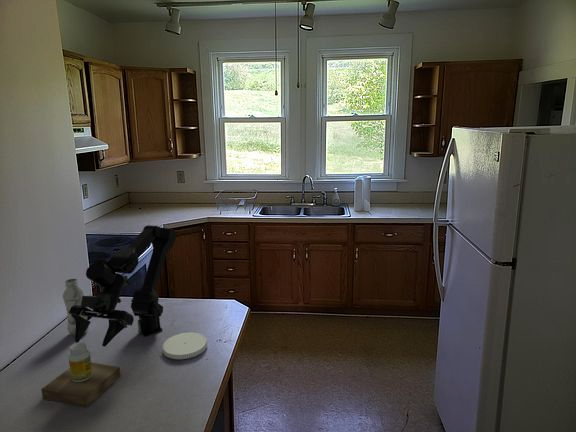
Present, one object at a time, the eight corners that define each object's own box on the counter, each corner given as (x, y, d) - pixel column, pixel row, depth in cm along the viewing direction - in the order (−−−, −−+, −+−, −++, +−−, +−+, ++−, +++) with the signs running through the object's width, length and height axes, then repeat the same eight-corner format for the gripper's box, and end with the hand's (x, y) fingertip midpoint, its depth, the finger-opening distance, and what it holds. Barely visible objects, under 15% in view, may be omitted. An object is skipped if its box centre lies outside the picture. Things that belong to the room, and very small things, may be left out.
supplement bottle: (75, 372, 118) (70, 342, 116) (95, 370, 119) (91, 340, 116) (68, 384, 113) (64, 352, 110) (89, 381, 113) (85, 350, 111)
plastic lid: (155, 351, 134) (154, 344, 134) (191, 334, 144) (191, 328, 144) (178, 367, 125) (177, 360, 124) (215, 349, 135) (215, 342, 134)
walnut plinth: (80, 369, 124) (79, 360, 124) (120, 375, 121) (119, 366, 120) (42, 398, 111) (41, 389, 111) (86, 407, 108) (84, 397, 107)
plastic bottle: (81, 338, 142) (73, 284, 138) (64, 337, 144) (55, 283, 139) (93, 329, 148) (86, 277, 144) (76, 328, 150) (69, 276, 145)
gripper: (68, 279, 121) (43, 332, 114) (123, 285, 117) (101, 340, 109) (91, 293, 131) (69, 343, 123) (142, 299, 126) (123, 351, 118)
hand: (89, 344), depth 118 cm, fingers open, 9 cm apart
